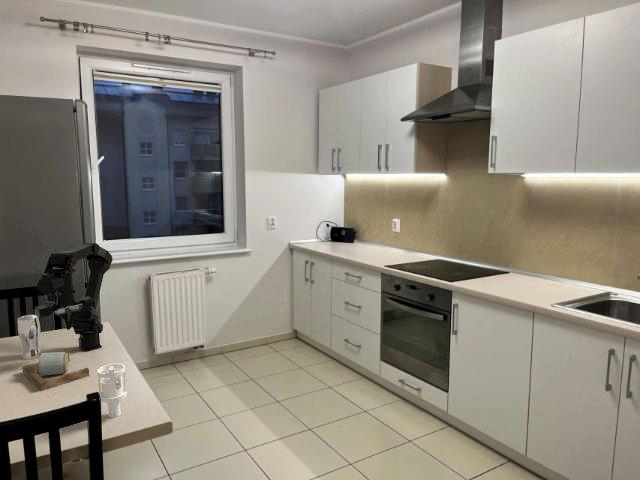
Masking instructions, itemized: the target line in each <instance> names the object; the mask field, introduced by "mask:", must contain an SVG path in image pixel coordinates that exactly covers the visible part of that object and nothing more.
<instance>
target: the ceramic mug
mask: <svg viewBox="0 0 640 480" xmlns="http://www.w3.org/2000/svg"><path fill="white" fill-rule="evenodd" d="M68 355H69V353H68V352H65V351H64V352H63V351H57V352H41V354H40V356H39V357H38V362H39V371H38V373H39V374H38V375H39V376H40V377H46V376H53V375H63V374H66V373H67V372H68V370H69V360H70V358H69V359H68Z"/></svg>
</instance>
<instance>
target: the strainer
mask: <svg viewBox="0 0 640 480" xmlns="http://www.w3.org/2000/svg"><path fill="white" fill-rule="evenodd" d="M117 368H118V369H120V370H117V371H115V369H117ZM105 370H108V372H107V373H105V372H104V371H105ZM96 371H97V383H98V384H97V385H98V395H99V394H100V397H101V401H100V402H101V403H104V404H105V403H106V404H107V411H108V417H109V418H111V417H112V419H113V418H117V417H120V415H121V403H120V402H121V400H123V399H125V398H126V397H127V396H128V392H127V391H128V390H127V380H126V365H124V364H123V363H109V364H105V365H103V366H101V367H99V368H98V369H97V370H96Z"/></svg>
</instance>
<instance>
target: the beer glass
mask: <svg viewBox="0 0 640 480" xmlns="http://www.w3.org/2000/svg"><path fill="white" fill-rule="evenodd" d="M17 332H18V337H19V340H20V344H21V346H22V353H21V354H22V359H23V360H32V359H36V358H39V357H40V354H41V353H42V351H41V348H40V337H41V324H40V317H38V316H37V315H35V314H26V315H23V316H20V317H17Z"/></svg>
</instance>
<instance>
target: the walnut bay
mask: <svg viewBox="0 0 640 480" xmlns="http://www.w3.org/2000/svg"><path fill="white" fill-rule="evenodd" d="M68 359H69V362H70V355H69V354H68ZM21 368H22V374H23V375H24V376H25V377H26V378H27V379H29V381H31V383H33V384H34V385H35V386H36V387H37V388H38V389H39V390H41V392H42V391H46V390H49V389H51V388H56V387H59V386H62V385H64V384H68V383H71V382H74V381H77V380H81V379H84V378H87V377H90V369H89V367H84V368H82V369H78V370H74V371H71V372H68V373H67V372H66V373H63V374H60V375H58V376H55V377H51V378H48V379H44V378H43V377H42V376H40V374H38V373H37V372H39V361H36V362H33V363H29V364H27V365H22V366H21Z"/></svg>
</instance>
